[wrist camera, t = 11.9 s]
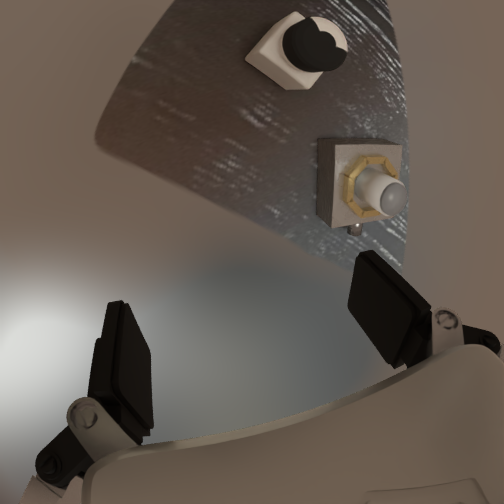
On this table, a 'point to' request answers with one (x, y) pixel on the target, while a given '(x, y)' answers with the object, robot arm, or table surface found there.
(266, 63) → the medicine bottle
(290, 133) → the table surface
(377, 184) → the short grey cylinder
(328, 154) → the block
